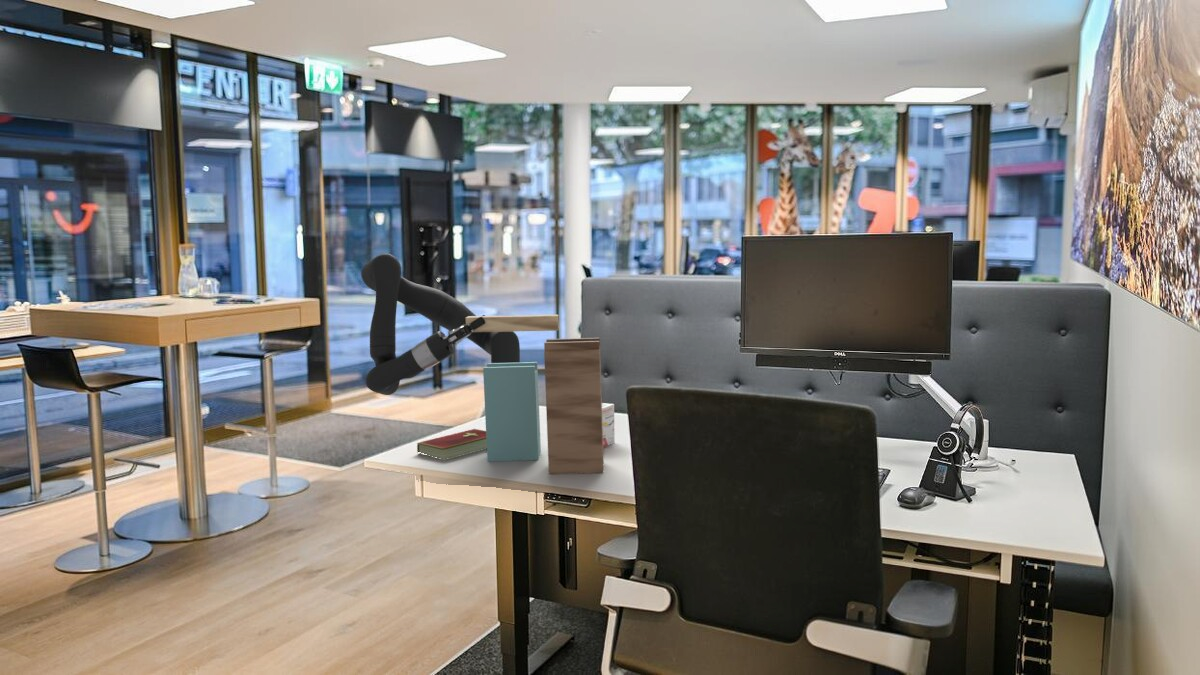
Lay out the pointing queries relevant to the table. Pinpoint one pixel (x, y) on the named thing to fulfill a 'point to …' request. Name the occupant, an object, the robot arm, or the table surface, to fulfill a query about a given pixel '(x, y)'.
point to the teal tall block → (512, 411)
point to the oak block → (517, 323)
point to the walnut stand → (574, 405)
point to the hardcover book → (454, 444)
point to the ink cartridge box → (608, 424)
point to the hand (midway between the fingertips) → (484, 318)
